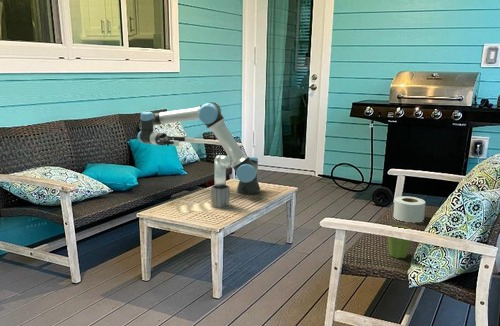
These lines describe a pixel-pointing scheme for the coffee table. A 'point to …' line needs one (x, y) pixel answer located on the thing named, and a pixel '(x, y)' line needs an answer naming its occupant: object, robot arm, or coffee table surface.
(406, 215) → the toilet paper roll
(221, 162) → the polished capsule rod
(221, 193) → the grey wooden bucket
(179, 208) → the birch board
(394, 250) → the plant pot
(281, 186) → the coffee table surface
